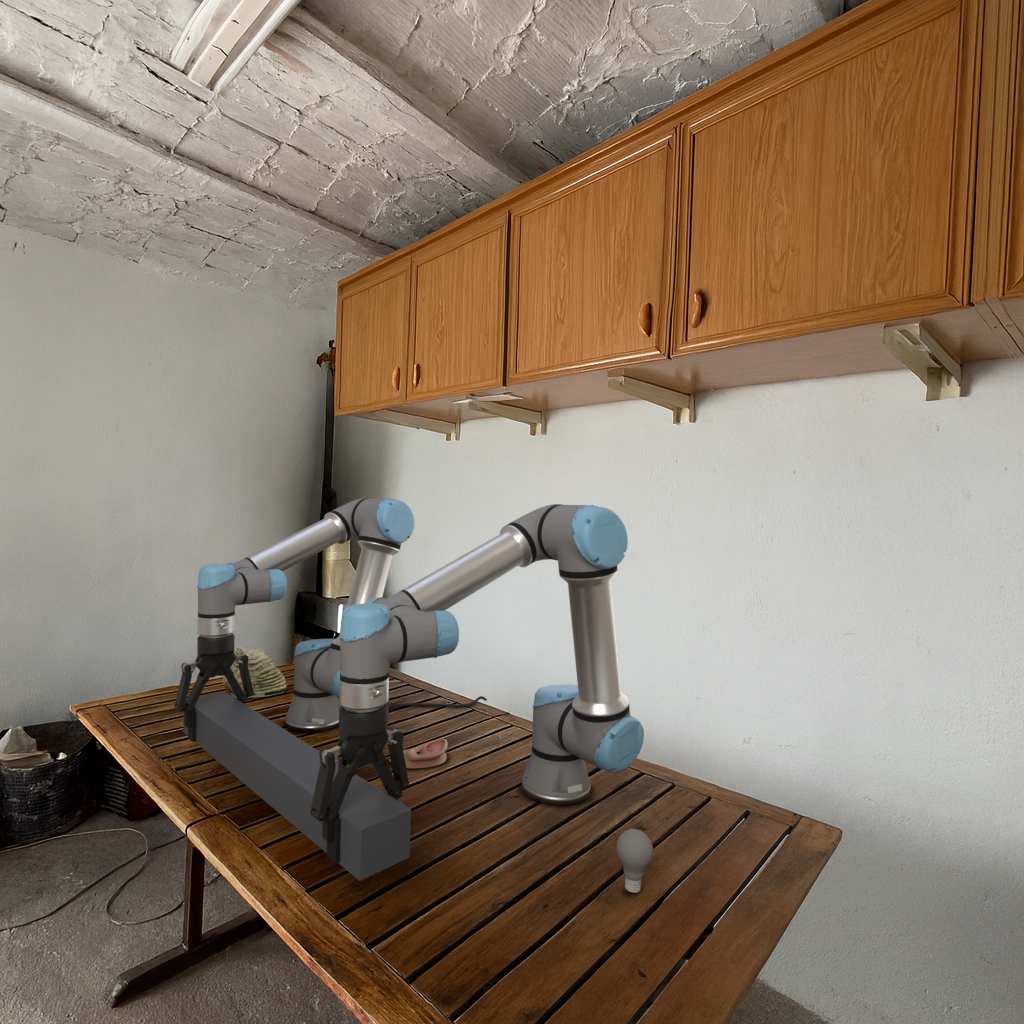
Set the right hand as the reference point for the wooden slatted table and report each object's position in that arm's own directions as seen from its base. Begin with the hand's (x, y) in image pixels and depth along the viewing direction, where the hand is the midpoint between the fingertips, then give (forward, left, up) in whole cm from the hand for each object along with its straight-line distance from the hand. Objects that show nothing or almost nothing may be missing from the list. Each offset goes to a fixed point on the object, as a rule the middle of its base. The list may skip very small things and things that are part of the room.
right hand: (361, 846), depth 99 cm
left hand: (-6, -60, 0) cm, 60 cm away
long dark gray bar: (-3, -30, 0) cm, 30 cm away
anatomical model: (-44, -33, -9) cm, 56 cm away
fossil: (-42, -106, -9) cm, 114 cm away
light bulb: (-33, +31, -9) cm, 46 cm away
